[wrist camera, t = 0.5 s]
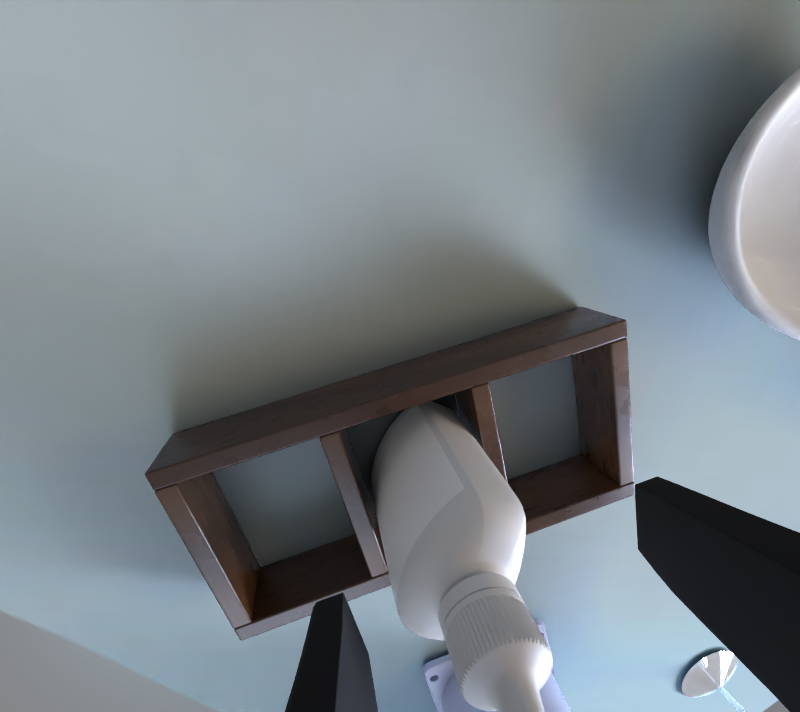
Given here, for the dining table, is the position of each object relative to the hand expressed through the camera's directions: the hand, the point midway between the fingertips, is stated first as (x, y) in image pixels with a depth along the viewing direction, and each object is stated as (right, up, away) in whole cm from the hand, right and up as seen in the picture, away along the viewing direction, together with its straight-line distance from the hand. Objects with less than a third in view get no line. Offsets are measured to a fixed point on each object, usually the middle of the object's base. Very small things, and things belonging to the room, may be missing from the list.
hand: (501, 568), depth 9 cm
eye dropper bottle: (-2, 0, +11) cm, 11 cm away
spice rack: (-2, 0, +10) cm, 10 cm away
